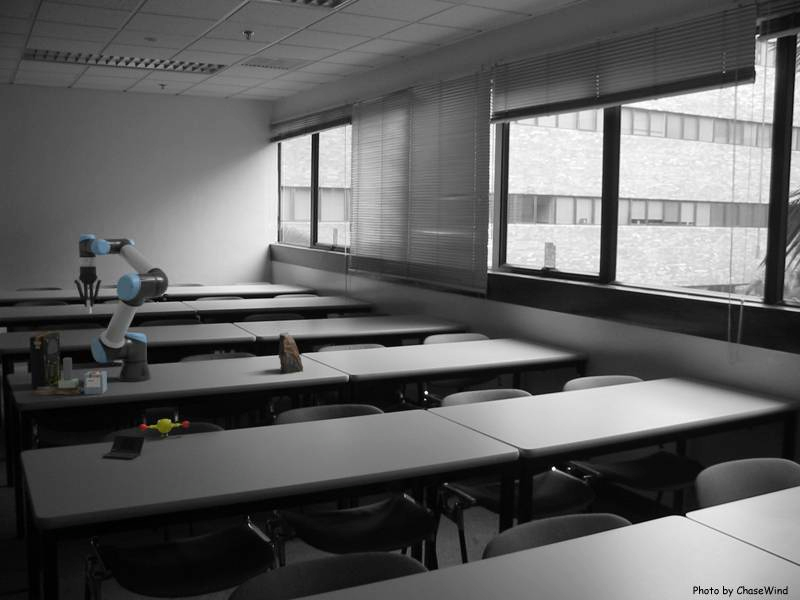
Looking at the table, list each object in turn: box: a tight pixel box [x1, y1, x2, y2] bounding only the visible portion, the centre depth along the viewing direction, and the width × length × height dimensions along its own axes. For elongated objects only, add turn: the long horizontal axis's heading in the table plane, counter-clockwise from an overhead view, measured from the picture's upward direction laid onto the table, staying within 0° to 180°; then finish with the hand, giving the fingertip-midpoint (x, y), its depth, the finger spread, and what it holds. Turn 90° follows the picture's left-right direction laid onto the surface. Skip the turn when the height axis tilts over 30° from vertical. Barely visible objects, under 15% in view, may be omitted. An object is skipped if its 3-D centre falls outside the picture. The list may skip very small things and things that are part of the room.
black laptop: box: [102, 435, 145, 461], centre depth 268 cm, size 12×7×10 cm
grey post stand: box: [57, 357, 79, 388], centre depth 357 cm, size 7×6×13 cm
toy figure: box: [138, 418, 190, 438], centre depth 290 cm, size 18×6×7 cm, turn 109°
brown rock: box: [278, 331, 304, 375], centre depth 412 cm, size 13×13×20 cm
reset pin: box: [92, 370, 100, 378], centre depth 359 cm, size 3×3×5 cm
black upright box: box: [29, 331, 62, 390], centre depth 370 cm, size 16×9×25 cm, turn 177°
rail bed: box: [33, 385, 83, 396], centre depth 357 cm, size 19×7×3 cm, turn 98°
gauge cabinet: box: [83, 370, 108, 395], centre depth 359 cm, size 8×8×9 cm
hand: (89, 313), depth 388 cm, fingers closed
